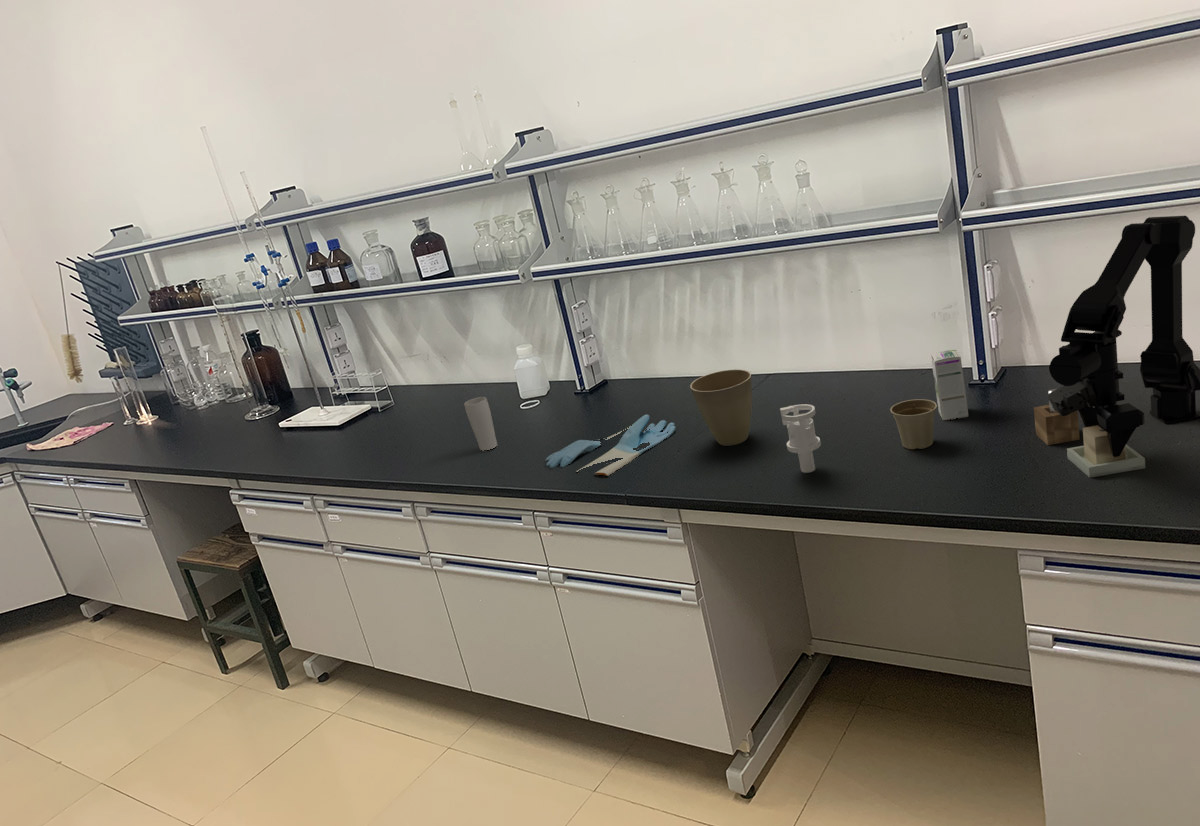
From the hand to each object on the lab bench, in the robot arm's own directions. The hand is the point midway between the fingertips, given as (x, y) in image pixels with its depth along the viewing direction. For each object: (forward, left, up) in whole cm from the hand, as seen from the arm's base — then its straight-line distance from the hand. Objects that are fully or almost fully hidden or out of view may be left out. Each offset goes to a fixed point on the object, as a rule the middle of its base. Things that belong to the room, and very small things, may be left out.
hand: (1104, 447), depth 159 cm
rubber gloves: (+99, -59, -4) cm, 115 cm away
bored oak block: (+3, -15, -3) cm, 16 cm away
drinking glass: (+137, -77, -3) cm, 157 cm away
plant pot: (+67, -47, -3) cm, 82 cm away
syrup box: (+17, -37, -3) cm, 41 cm away
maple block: (0, 0, -3) cm, 3 cm away
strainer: (+52, -21, -3) cm, 56 cm away
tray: (0, 0, -3) cm, 3 cm away
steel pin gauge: (+3, -15, -3) cm, 15 cm away
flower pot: (+28, -24, -3) cm, 37 cm away
